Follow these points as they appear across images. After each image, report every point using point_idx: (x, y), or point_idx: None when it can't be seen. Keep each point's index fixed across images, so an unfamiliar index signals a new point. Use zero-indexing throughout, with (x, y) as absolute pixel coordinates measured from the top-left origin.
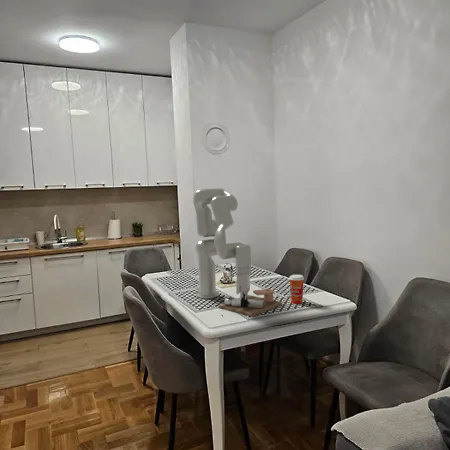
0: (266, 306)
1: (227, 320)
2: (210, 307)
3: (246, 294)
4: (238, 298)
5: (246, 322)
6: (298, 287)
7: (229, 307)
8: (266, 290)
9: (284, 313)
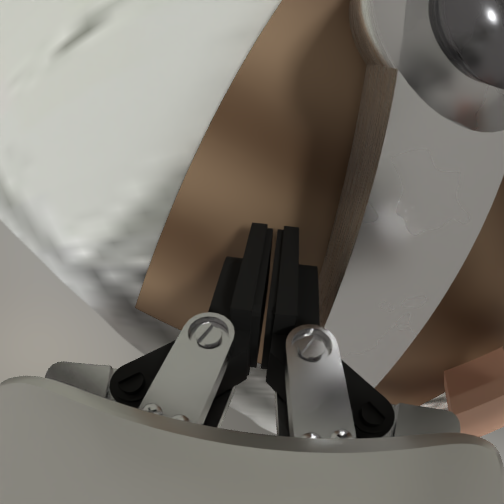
0: None
1: (13, 136)
2: None
3: (277, 434)
4: (483, 208)
5: (49, 262)
6: None
7: (303, 34)
8: (494, 423)
9: (265, 406)
